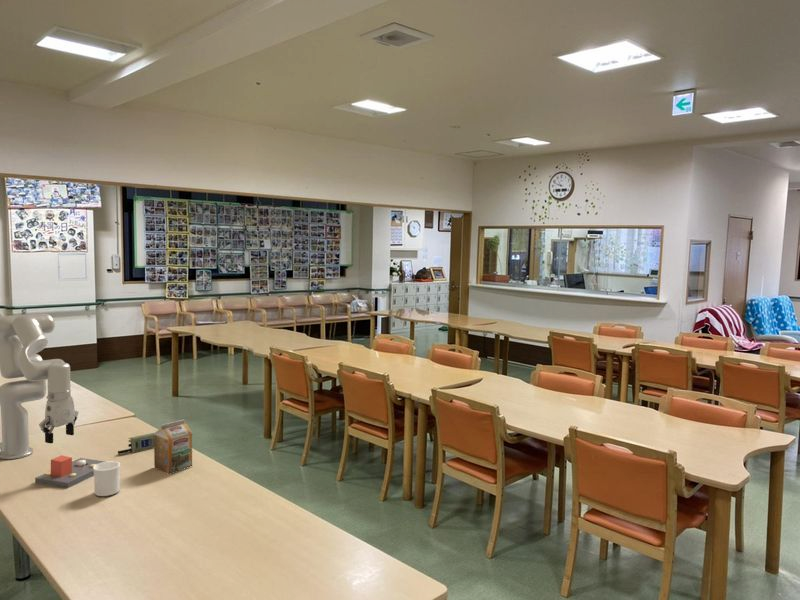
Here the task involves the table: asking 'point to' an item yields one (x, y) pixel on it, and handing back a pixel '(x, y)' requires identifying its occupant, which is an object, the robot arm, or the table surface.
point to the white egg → (81, 463)
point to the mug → (106, 478)
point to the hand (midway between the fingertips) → (59, 438)
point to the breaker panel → (70, 475)
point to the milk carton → (173, 447)
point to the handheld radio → (140, 443)
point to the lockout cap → (61, 466)
